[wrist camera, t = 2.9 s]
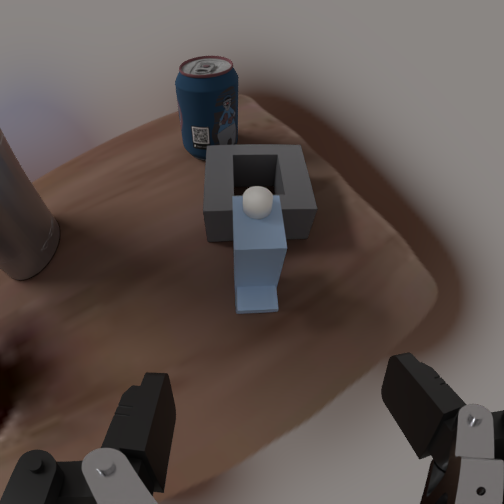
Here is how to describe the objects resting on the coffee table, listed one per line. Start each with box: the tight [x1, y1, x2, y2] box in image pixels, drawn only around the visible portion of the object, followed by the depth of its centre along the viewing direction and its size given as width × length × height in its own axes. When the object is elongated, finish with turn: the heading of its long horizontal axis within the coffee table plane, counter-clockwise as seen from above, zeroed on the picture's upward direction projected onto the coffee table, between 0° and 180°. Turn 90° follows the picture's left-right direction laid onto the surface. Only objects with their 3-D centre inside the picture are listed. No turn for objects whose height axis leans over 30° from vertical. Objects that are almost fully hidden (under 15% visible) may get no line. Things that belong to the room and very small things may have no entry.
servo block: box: [232, 186, 287, 314], centre depth 22 cm, size 8×3×12 cm, turn 4°
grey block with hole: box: [203, 144, 317, 242], centre depth 30 cm, size 10×9×5 cm
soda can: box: [175, 56, 238, 161], centre depth 32 cm, size 7×7×12 cm
